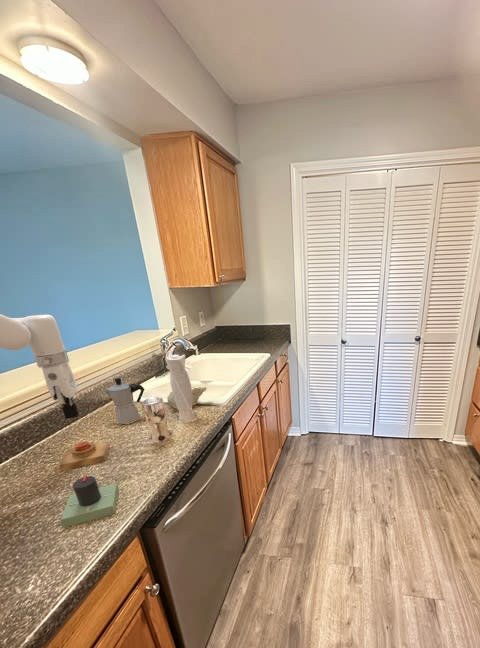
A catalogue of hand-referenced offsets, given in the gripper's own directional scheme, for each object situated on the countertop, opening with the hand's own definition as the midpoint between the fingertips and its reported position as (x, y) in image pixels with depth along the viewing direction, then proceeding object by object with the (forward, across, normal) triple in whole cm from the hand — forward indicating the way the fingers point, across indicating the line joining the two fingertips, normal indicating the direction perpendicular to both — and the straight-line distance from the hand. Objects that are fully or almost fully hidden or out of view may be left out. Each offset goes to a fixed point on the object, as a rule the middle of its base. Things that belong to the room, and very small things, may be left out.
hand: (72, 416), depth 100 cm
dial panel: (+15, -29, -6) cm, 33 cm away
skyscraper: (+15, +15, -33) cm, 39 cm away
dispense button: (+11, 0, 0) cm, 11 cm away
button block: (+15, 0, 0) cm, 15 cm away
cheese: (+15, +30, -35) cm, 48 cm away
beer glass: (+15, +2, -23) cm, 28 cm away
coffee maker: (+15, +26, -12) cm, 32 cm away
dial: (+12, -29, -6) cm, 32 cm away
